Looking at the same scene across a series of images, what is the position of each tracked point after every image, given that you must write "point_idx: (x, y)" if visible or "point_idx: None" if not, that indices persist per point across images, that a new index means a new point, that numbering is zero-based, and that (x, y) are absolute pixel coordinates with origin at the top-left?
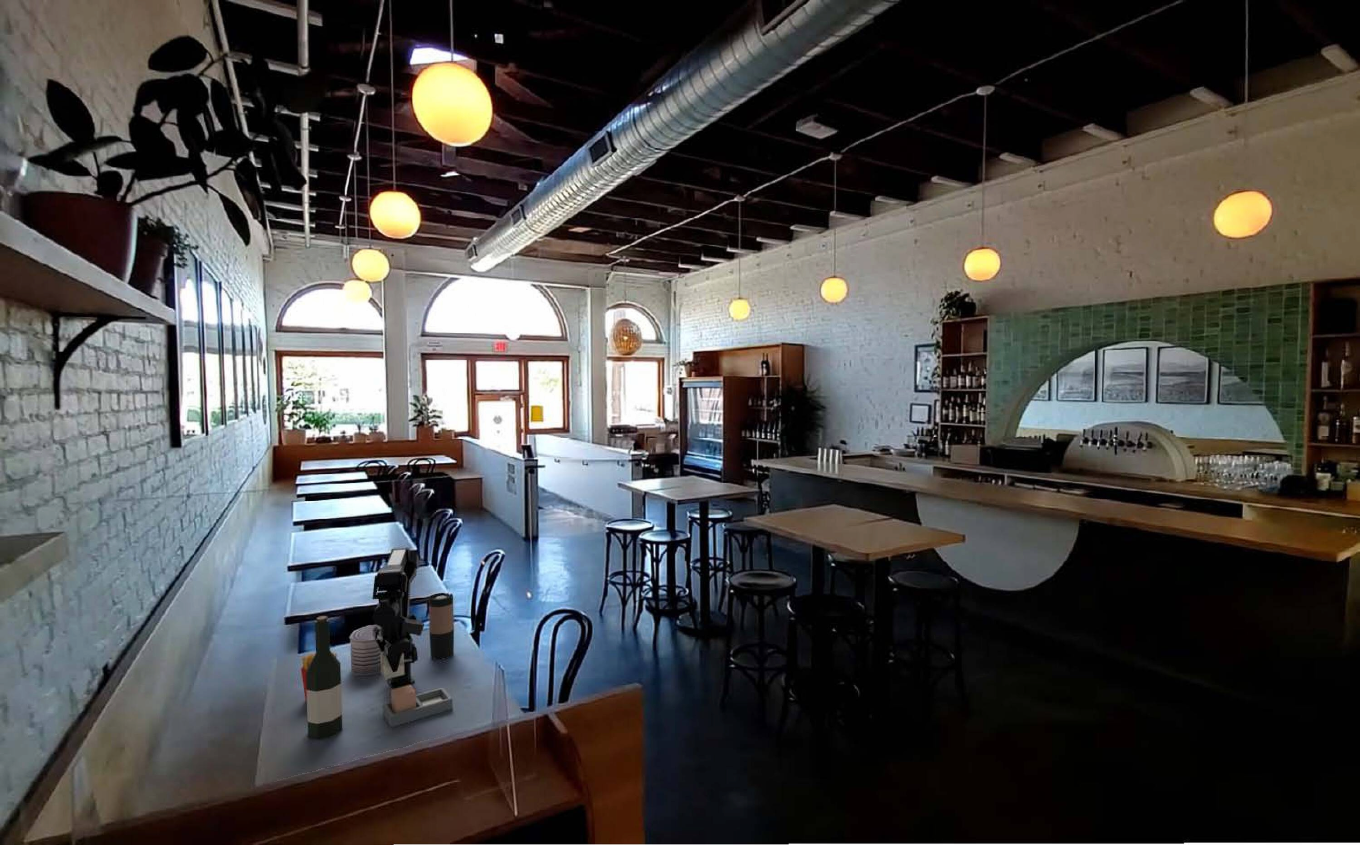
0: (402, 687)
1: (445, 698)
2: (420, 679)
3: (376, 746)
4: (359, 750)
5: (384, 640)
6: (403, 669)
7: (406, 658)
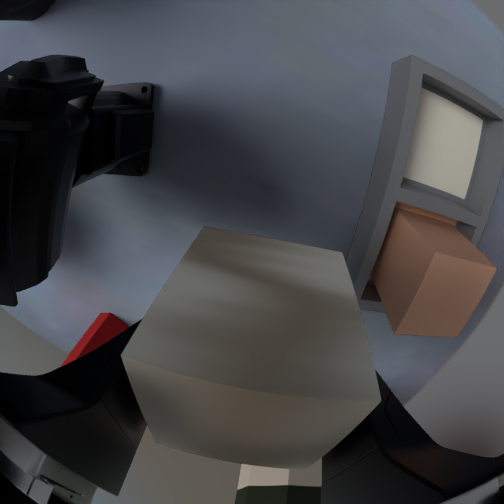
0: (424, 293)
1: (466, 101)
2: (142, 58)
3: (452, 340)
4: (430, 363)
5: (84, 486)
6: (347, 279)
7: (84, 136)
